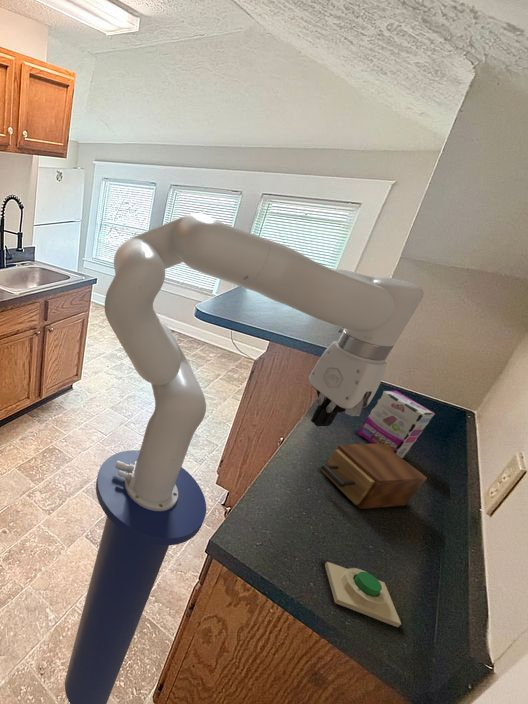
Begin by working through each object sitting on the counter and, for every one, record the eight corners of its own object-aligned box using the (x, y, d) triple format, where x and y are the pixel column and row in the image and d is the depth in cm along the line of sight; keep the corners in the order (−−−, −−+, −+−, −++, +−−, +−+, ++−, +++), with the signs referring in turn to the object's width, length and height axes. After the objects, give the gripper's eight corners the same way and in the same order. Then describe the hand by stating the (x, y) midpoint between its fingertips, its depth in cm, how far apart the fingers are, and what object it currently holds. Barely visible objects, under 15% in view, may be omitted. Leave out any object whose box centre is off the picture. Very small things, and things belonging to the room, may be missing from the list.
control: (334, 603, 71) (342, 594, 69) (324, 564, 78) (330, 555, 76) (398, 627, 68) (407, 618, 67) (381, 585, 75) (389, 576, 73)
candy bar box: (404, 458, 110) (437, 413, 102) (390, 459, 108) (423, 414, 101) (368, 432, 119) (396, 389, 111) (356, 433, 118) (383, 390, 110)
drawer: (339, 505, 91) (355, 482, 87) (307, 472, 100) (320, 450, 96) (397, 501, 94) (415, 479, 90) (361, 469, 102) (375, 447, 99)
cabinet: (359, 509, 91) (379, 480, 87) (322, 471, 101) (338, 444, 97) (405, 505, 94) (427, 478, 89) (364, 469, 104) (382, 443, 99)
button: (357, 591, 71) (362, 586, 70) (351, 573, 74) (355, 568, 73) (380, 599, 70) (385, 594, 69) (373, 581, 73) (377, 576, 72)
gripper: (314, 327, 75) (279, 401, 84) (383, 367, 62) (333, 450, 71) (346, 328, 76) (308, 401, 85) (420, 367, 64) (366, 449, 72)
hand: (319, 423), depth 78 cm, fingers closed
